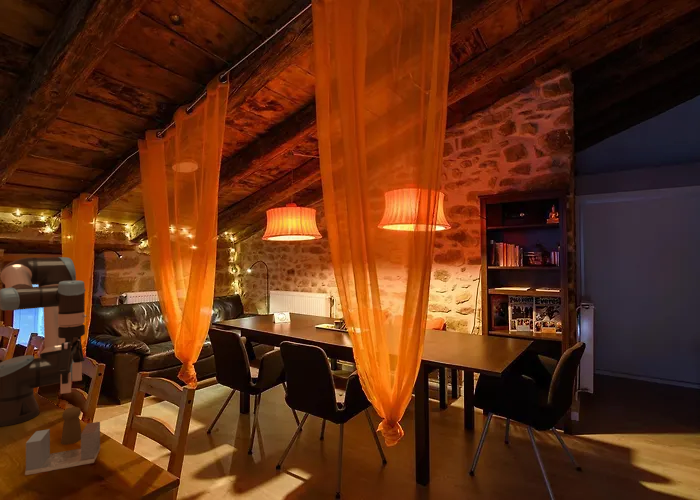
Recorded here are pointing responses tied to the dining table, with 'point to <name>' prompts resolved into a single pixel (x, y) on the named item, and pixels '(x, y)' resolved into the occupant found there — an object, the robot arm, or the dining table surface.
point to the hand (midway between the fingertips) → (71, 386)
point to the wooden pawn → (71, 426)
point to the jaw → (37, 449)
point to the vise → (74, 452)
